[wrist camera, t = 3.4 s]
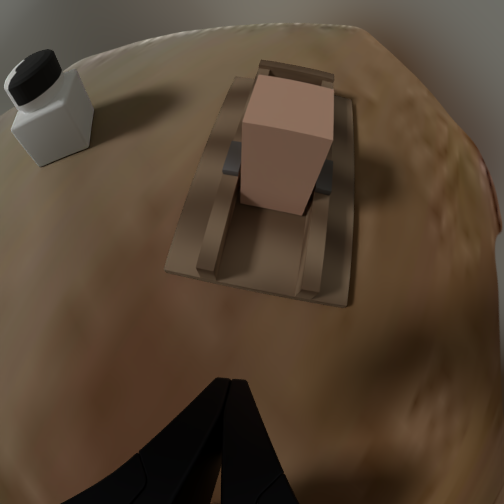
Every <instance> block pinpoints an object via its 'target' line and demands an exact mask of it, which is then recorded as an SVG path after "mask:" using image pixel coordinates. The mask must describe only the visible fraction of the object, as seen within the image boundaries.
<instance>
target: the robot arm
mask: <svg viewBox="0 0 504 504" xmlns="http://www.w3.org/2000/svg"><path fill="white" fill-rule="evenodd" d="M221 464H222V465H221ZM220 468H221V504H299V502H298V500H297V498H296V497H295V495H294V493H293V491H292V489H291V487H290V484H289V482H288V480H287V478H286V475H285V474H284V471H283V469H282V467H281V464H280V462H279V460H278V457H277V455H276V453H275V450H274V448H273V445H272V443H271V441H270V438H269V436H268V433H267V431H266V428H265V426H264V423H263V421H262V418H261V416H260V413H259V411H258V408H257V406H256V403H255V401H254V398H253V395H252V393H251V390H250V388H249V385H248V382H247V381H246V380H241V379H232V381H231V379H229V378H219V377H217V378H215V379H214V380H213V381H212V382H211V383H210V384H209V385H208V386H207V387H206V388H205V389H204V390H203V391H202V392H201V393H200V394H199V395H198V396H197V397H196V398H195V399H194V400H193V401H192V402H191V403H190V404H189V405H188V406H187V407H186V408H185V409H184V410H183V411H182V412H181V413H180V414H179V415H178V416H177V417H175V418H174V419H173V420H172V421H171V422H170V423H169V424H168V425H167V426H166V427H165V428H164V429H163V430H162V431H161V432H159V433H158V434H157V435H156V436H155V437H154V438H153V439H152V440H151V441H150V442H149V443H147V444H146V445H145V446H144V447H143V448H142V449H141V450H140V451H139V453H136V454H135V455H134V456H133V457H131V458H130V459H129V460H128V461H127V462H126V463H124V464H123V465H122V466H121V467H119V468H118V469H117V470H116V471H114V472H113V473H111V474H110V475H108V476H107V477H105V478H104V479H102V480H101V481H99V482H98V483H96V484H94V485H93V486H91V487H89V488H88V489H86V490H84V491H83V492H81V493H79V494H77V495H76V496H74V497H72V498H70V499H68V500H67V501H65V502H63V503H61V504H210V502H211V498H212V495H213V492H214V488H215V485H216V481H217V478H218V475H219V471H220Z"/></svg>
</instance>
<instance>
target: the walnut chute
mask: <svg viewBox="0 0 504 504" xmlns="http://www.w3.org/2000/svg"><path fill="white" fill-rule="evenodd" d="M258 75H266V76H272V77H278V78H284V79H289V80H294V81H299V82H304V83H309V84H313V85H317V86H322V87H326V88H330V89H333V82H334V74H331V73H327V72H323V71H319V70H315V69H310V68H305V67H301V66H296V65H290V64H285V63H279V62H273V61H266V60H261V61H260V64H259V69H258V72H257V75H256V77H255V79H251V78H243V77H235V78H234V80H233V82H232V85H231V87H230V89H229V91H228V94H227V96H226V98H225V100H224V103H223V105H222V107H221V110H220V112H219V114H218V117H217V119H216V122H215V124H214V126H213V129H212V131H211V134H210V136H209V139H208V141H207V144H206V146H205V149H204V152H203V154H202V157H201V159H200V162H199V165H198V167H197V170H196V173H195V176H194V178H193V181H192V184H191V187H190V189H189V192H188V195H187V198H186V201H185V204H184V207H183V210H182V213H181V216H180V219H179V222H178V225H177V228H176V231H175V234H174V237H173V240H172V244H171V247H170V250H169V253H168V257H167V260H166V264H165V267H164V270H165V272H166V273H170V274H175V275H179V276H184V277H188V278H193V279H197V280H202V281H206V282H211V283H215V284H220V285H225V286H230V287H234V288H239V289H244V290H249V291H254V292H259V293H264V294H269V295H274V296H279V297H285V298H290V299H295V300H301V301H306V302H312V303H317V304H323V305H329V306H335V307H341V308H344V307H346V306H347V300H348V291H349V280H350V269H351V256H352V240H353V219H354V133H353V113H352V100H351V99H347V98H344V97H340V96H336V95H334V125H333V142H332V144H331V147H330V149H329V152H328V154H327V157H326V159H325V162H324V164H323V167H322V169H321V171H320V174H319V176H318V179H317V181H316V183H315V186H314V188H313V191H312V193H311V195H310V198H309V200H308V203H307V205H306V207H305V210H304V212H303V214H302V216H301V215H296V214H291V213H287V212H282V211H277V210H272V209H267V208H262V207H257V206H251V205H246V204H241V203H240V192H241V149H242V121H243V118H244V115H245V112H246V109H247V106H248V103H249V101H250V98H251V95H252V92H253V89H254V86H255V83H256V81H257V78H258Z"/></svg>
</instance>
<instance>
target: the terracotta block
mask: <svg viewBox="0 0 504 504" xmlns="http://www.w3.org/2000/svg"><path fill="white" fill-rule="evenodd" d="M333 125H334V89H330V88H326V87H322V86H317V85H313V84H309V83H304V82H299V81H294V80H289V79H284V78H278V77H272V76H266V75H258V78H257V81H256V83H255V86H254V89H253V92H252V95H251V98H250V101H249V103H248V106H247V109H246V112H245V115H244V118H243V121H242V149H241V192H240V203H241V204H246V205H251V206H257V207H262V208H267V209H272V210H277V211H282V212H287V213H291V214H296V215H301V216H302V214H303V212H304V210H305V207H306V205H307V203H308V200H309V198H310V195H311V193H312V191H313V188H314V186H315V183H316V181H317V179H318V176H319V174H320V171H321V169H322V167H323V164H324V162H325V159H326V157H327V154H328V152H329V149H330V147H331V144H332V142H333Z"/></svg>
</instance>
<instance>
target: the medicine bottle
mask: <svg viewBox="0 0 504 504" xmlns="http://www.w3.org/2000/svg"><path fill="white" fill-rule="evenodd" d="M4 89H5V91H6V92H7V94H8V96H9V97H10V99H11V100H12V102H13V103H14V105H15V107H16V108H17V110H18V113H17V115H16V117H15V120H14V122H13V125H12V128H11V132H12V133H13V134H14V136H15V137H16V138H17V140H18V141H19V142H20V144H21V145H22V146H23V148H24V149H25V150H26V151H27V153H28V154H29V155H30V156H31V158H32V159H33V160H34V161H35V163H36V164H37V165H38V166H39V167H42V166H44V165H46V164H49V163H51V162H53V161H56V160H58V159H60V158H63V157H65V156H68V155H70V154H73V153H76V152H78V151H81V150H84V149H86V148H88V147H89V143H90V135H91V127H92V120H93V114H94V108H93V105H92V103H91V101H90V99H89V97H88V94H87V92H86V90H85V88H84V85H83V83H82V81H81V78H80V76H79V74H78V71H77V69H72V70H70V71H68V72H65V73H63V71H62V69H61V67H60V65H59V63H58V60H57V58H56V56H55V53H54V51H52V50H49V49H47V50H42V51H39V52H36V53H34V54H32V55H30V56H28V57H27V58H25V59H24V60H23V61H21V62H20V63H19V64H18V65H17V66H16V67H15V68H14V69H13V70H12V71H11V72H10V74H9V75H8V77H7V79H6V80H5V83H4Z"/></svg>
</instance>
